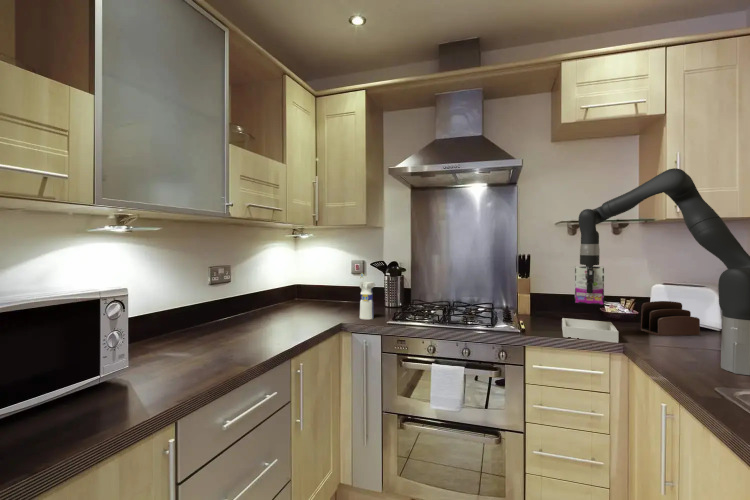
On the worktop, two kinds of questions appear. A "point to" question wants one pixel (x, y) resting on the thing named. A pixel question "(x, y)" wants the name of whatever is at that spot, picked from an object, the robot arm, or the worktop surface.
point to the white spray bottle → (366, 299)
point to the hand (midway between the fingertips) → (588, 292)
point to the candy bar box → (581, 285)
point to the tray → (589, 330)
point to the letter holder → (668, 319)
